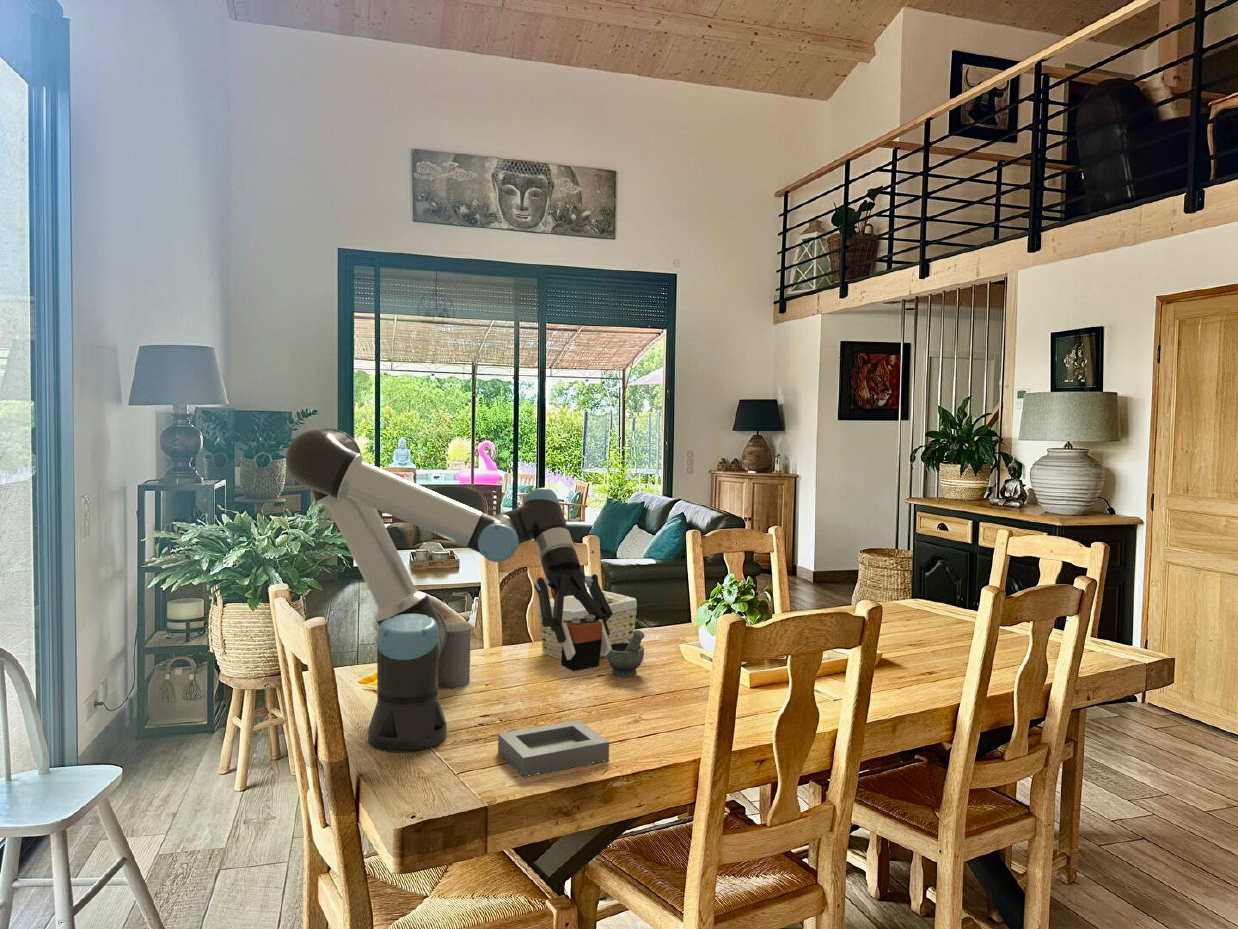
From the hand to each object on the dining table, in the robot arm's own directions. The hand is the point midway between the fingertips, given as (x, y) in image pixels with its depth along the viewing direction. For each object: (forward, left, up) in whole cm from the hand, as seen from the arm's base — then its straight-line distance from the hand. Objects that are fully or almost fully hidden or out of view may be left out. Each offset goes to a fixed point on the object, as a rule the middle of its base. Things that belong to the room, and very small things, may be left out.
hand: (589, 654), depth 165 cm
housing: (-8, -2, -18) cm, 20 cm away
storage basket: (+29, +60, -18) cm, 70 cm away
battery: (0, +4, -4) cm, 5 cm away
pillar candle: (-12, +50, -18) cm, 55 cm away
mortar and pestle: (+29, +37, -18) cm, 51 cm away
